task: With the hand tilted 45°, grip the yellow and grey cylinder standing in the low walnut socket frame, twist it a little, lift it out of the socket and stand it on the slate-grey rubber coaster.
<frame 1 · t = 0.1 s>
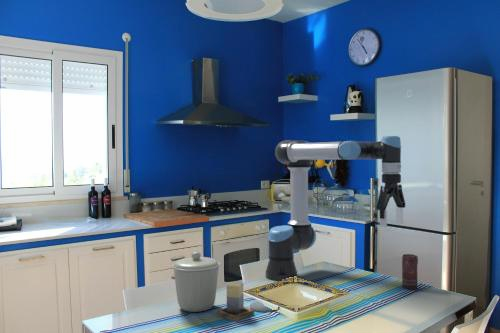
hand: (391, 224, 182), 28 cm above the table, tool pointing down, fingers open, 13 cm apart
yellow and grey cylinder: (235, 299, 157), in the socket frame
canister: (196, 308, 165), on the table
can: (410, 288, 188), on the table
socket frame: (235, 314, 157), on the table
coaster: (264, 307, 165), on the table
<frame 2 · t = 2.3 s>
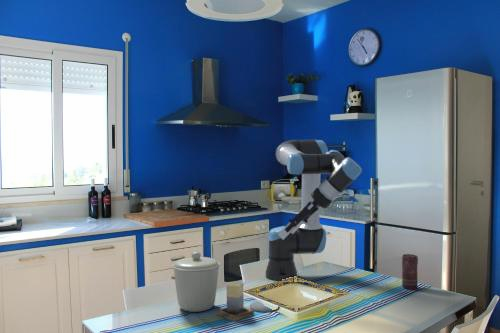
hand: (285, 234, 163), 28 cm above the table, tool tilted 45°, fingers open, 13 cm apart
nothing on the table moved.
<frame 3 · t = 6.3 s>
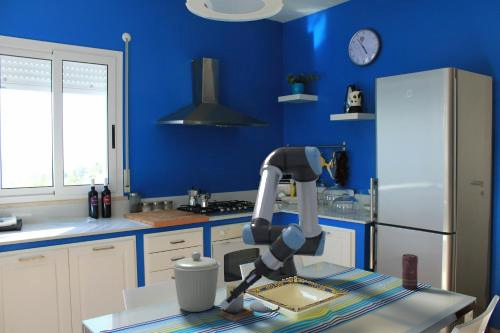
hand: (225, 304, 159), 3 cm above the table, tool tilted 45°, fingers closed on yellow and grey cylinder, 5 cm apart
yellow and grey cylinder: (235, 299, 157), in the socket frame, touching gripper
everything else where it was.
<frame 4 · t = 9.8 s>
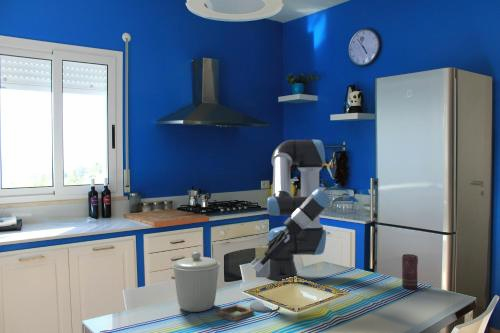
hand: (254, 267, 164), 15 cm above the table, tool tilted 45°, fingers closed on yellow and grey cylinder, 6 cm apart
yellow and grey cylinder: (262, 261, 165), point 17 cm above the table, touching gripper
everything else where it was.
when the fingers open (4 cm above the table, at t = 12.5 s): yellow and grey cylinder stays where it is, resting on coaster.
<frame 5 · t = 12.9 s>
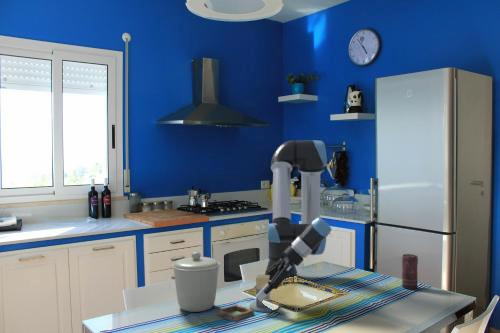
hand: (256, 294, 165), 5 cm above the table, tool tilted 45°, fingers open, 11 cm apart
yellow and grey cylinder: (263, 291, 165), on the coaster, point 6 cm above the table
everything else where it was.
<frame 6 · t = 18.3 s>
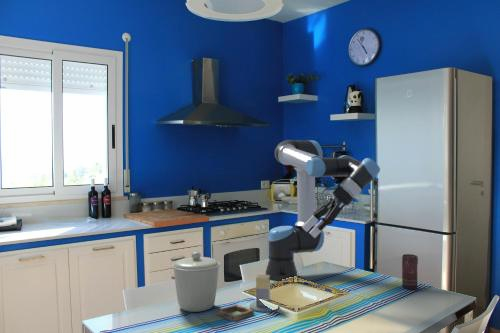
hand: (307, 232, 166), 28 cm above the table, tool tilted 45°, fingers open, 13 cm apart
nothing on the table moved.
at the end: yellow and grey cylinder inside the target area on the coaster (0.4 cm from its centre), point 6.1 cm above the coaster's base; yellow and grey cylinder tilted 0°; the gripper is holding nothing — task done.
